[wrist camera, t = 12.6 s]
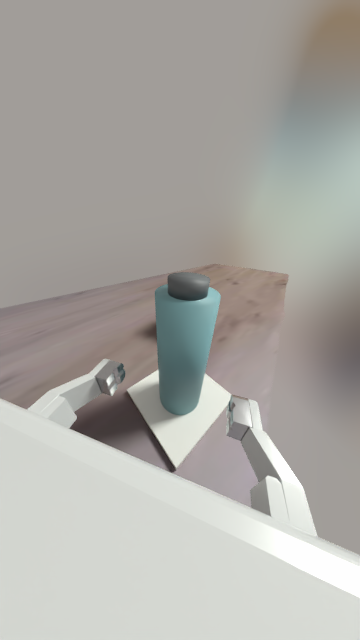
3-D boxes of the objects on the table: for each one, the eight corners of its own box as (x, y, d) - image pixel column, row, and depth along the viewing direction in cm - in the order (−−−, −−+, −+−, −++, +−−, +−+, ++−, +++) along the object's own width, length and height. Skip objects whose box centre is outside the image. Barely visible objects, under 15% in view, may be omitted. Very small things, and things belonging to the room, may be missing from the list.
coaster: (176, 470, 13) (176, 468, 13) (127, 392, 19) (126, 389, 19) (232, 399, 19) (233, 396, 19) (181, 357, 25) (181, 354, 25)
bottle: (177, 425, 16) (189, 296, 8) (151, 391, 19) (140, 274, 11) (207, 395, 19) (237, 280, 11) (180, 370, 22) (188, 267, 14)
